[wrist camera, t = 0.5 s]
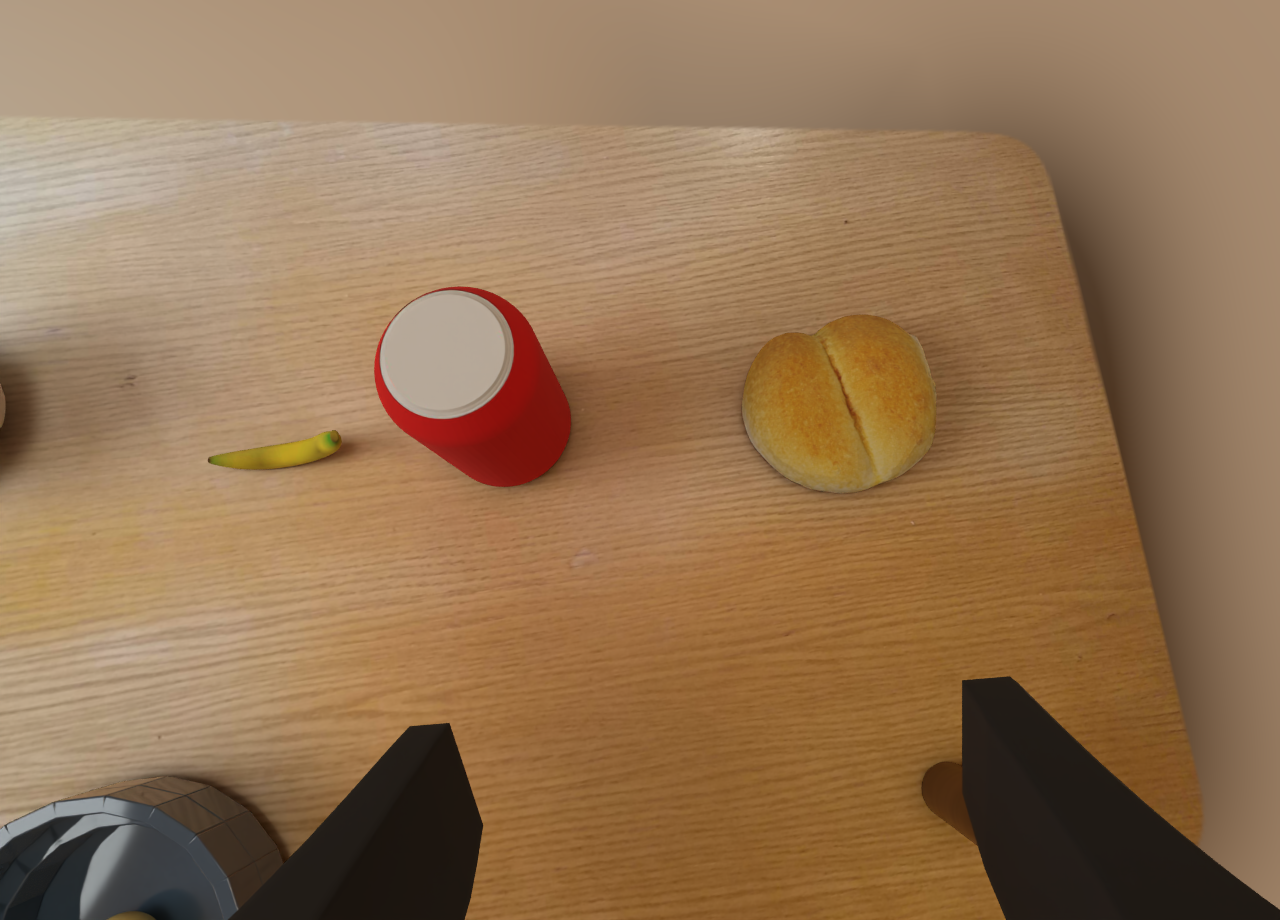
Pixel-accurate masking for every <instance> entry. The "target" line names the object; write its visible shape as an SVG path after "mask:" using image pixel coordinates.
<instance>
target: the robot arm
mask: <svg viewBox="0 0 1280 920" xmlns="http://www.w3.org/2000/svg"><path fill="white" fill-rule="evenodd" d="M962 794H963V797H964V801H965V804H966V808H967V811H968V814H969V818H970V821H971V825H972V828H973V832H974V835H975V838H976V841H977V845H978V848H979V851H980V854H981V858H982V861H983V864H984V867H985V870H986V873H987V875H988V877H989V880H990V882H991V885H992V887H993V890H994V892H995V894H996V897H997V899H998V902H999V904H1000V906H1001V909H1002V911H1003V913H1004V916H1005V918H1006V920H1280V910H1279V909H1278V908H1277V907H1275V906H1274V905H1273V904H1271V903H1270V902H1268V901H1267V900H1266V899H1264V898H1263V897H1261V896H1260V895H1259V894H1258V893H1256V892H1255V891H1254V890H1252V889H1251V888H1250V887H1248V886H1247V885H1246V884H1244V883H1243V882H1241V881H1240V880H1239V879H1238V878H1236V877H1235V876H1234V875H1232V874H1231V873H1230V872H1229V871H1227V870H1226V869H1225V868H1223V867H1222V866H1221V865H1220V864H1218V863H1217V862H1216V861H1214V860H1213V859H1212V858H1211V857H1210V856H1208V855H1207V854H1206V853H1205V852H1203V851H1202V850H1201V849H1200V848H1199V847H1197V846H1196V845H1195V844H1194V843H1192V842H1191V841H1190V840H1189V839H1187V838H1186V837H1185V836H1184V835H1183V834H1181V833H1180V832H1179V831H1178V830H1176V829H1175V828H1174V827H1173V826H1172V825H1170V824H1169V823H1168V822H1167V821H1166V820H1165V819H1163V818H1162V817H1161V816H1160V815H1159V814H1157V813H1156V812H1155V811H1154V810H1153V809H1152V808H1150V807H1149V806H1148V805H1147V804H1146V803H1145V802H1144V801H1142V800H1141V799H1140V798H1139V797H1138V796H1137V795H1136V794H1135V793H1133V792H1132V791H1131V790H1130V789H1129V788H1128V787H1127V786H1126V785H1124V784H1123V783H1122V782H1121V781H1120V780H1119V779H1118V778H1117V777H1115V776H1114V775H1113V774H1112V773H1111V772H1110V771H1109V770H1108V769H1106V768H1105V767H1104V766H1103V765H1102V764H1101V763H1100V762H1099V761H1098V760H1097V759H1096V758H1095V757H1093V756H1092V755H1091V754H1090V753H1089V752H1088V751H1087V750H1086V749H1085V748H1084V747H1083V746H1082V745H1081V744H1080V743H1079V742H1078V741H1076V740H1075V739H1074V738H1073V737H1072V736H1071V735H1070V734H1069V733H1068V732H1067V731H1066V730H1065V729H1064V728H1063V727H1062V726H1061V725H1060V724H1059V723H1058V722H1057V721H1056V720H1055V719H1054V718H1053V717H1052V716H1051V715H1050V714H1049V713H1048V712H1047V711H1046V710H1045V709H1043V708H1042V707H1041V706H1040V705H1039V704H1038V703H1037V702H1036V701H1035V700H1034V699H1033V698H1032V697H1031V696H1030V695H1029V694H1028V693H1027V692H1026V691H1025V690H1024V689H1023V688H1022V687H1021V686H1020V685H1019V684H1018V683H1017V682H1016V681H1015V680H1013V679H1012V678H1011V677H997V678H985V679H973V680H962ZM482 829H483V823H482V820H481V817H480V814H479V811H478V808H477V805H476V802H475V799H474V796H473V793H472V790H471V787H470V784H469V781H468V778H467V775H466V772H465V769H464V766H463V763H462V760H461V757H460V754H459V751H458V748H457V745H456V742H455V739H454V735H453V732H452V729H451V726H450V723H444V724H432V725H420V726H410V727H409V728H408V729H407V730H406V731H405V732H404V733H403V734H402V735H401V736H400V737H399V738H398V739H397V741H396V742H395V743H394V744H393V745H392V746H391V747H390V748H389V749H388V750H387V752H386V753H385V754H384V755H383V756H382V757H381V758H380V759H379V761H378V762H377V763H376V764H375V765H374V766H373V767H372V768H371V770H370V771H369V772H368V773H367V774H366V775H365V776H364V778H363V779H362V780H361V781H360V782H359V783H358V784H357V785H356V787H355V788H354V789H353V790H352V791H351V792H350V793H349V794H348V795H347V797H346V798H345V799H344V800H343V801H342V802H341V803H340V804H339V805H338V806H337V808H336V809H335V810H334V811H333V812H332V813H331V814H330V815H329V816H328V817H327V819H326V820H325V821H324V822H323V823H322V824H321V825H320V826H319V827H318V828H317V829H316V831H315V832H314V833H313V834H312V835H311V836H310V837H309V838H308V839H307V840H306V841H305V843H304V844H303V845H302V846H301V847H300V848H299V849H298V850H297V851H296V852H295V853H294V854H293V855H292V856H291V857H290V858H289V859H288V860H287V861H286V862H285V863H284V864H283V865H282V866H281V867H280V868H279V869H278V870H277V871H276V872H275V873H274V874H273V875H272V876H271V877H270V878H269V879H268V880H267V881H266V882H265V883H264V884H263V885H262V886H261V887H260V888H259V889H258V890H257V891H256V892H255V893H254V894H253V895H252V896H251V897H250V898H249V899H248V900H247V902H246V903H245V904H244V905H243V906H242V907H240V908H239V909H238V910H237V911H236V912H235V913H234V914H233V915H232V916H231V917H230V918H229V919H228V920H465V916H466V913H467V909H468V906H469V902H470V898H471V894H472V888H473V883H474V877H475V872H476V867H477V861H478V854H479V848H480V842H481V835H482Z"/></svg>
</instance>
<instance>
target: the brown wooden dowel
mask: <svg viewBox="0 0 1280 920" xmlns="http://www.w3.org/2000/svg"><path fill="white" fill-rule="evenodd" d="M922 794H923V798H924V801H925V803H926V804H927V806H928V807H929V808H930V810H931V811H932V812H934V813H935V814H936V815H938V816H939V817H940V818H942V819H943V820H944V821H946V822H947V823H948V824H950V825H951V826H952V827H953V828H955V829H956V830H957V831H959V832H960V833H961V834H963V835H964V836H965V837H967V838H968V839H969V840H971V841H972V842H973V843H975V844H976V845H977V841H976V838H975V835H974V832H973V828H972V825H971V821H970V818H969V814H968V811H967V808H966V804H965V801H964V797H963V794H962V766H960V765H959V764H956V763H952V762H942V763H938V764H936V765H934V766H933V767H931V768H930V769H929V770H928V771H927V773H926V774H925V776H924V779H923V782H922ZM977 846H978V845H977Z"/></svg>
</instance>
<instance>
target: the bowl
mask: <svg viewBox="0 0 1280 920" xmlns="http://www.w3.org/2000/svg"><path fill="white" fill-rule="evenodd" d="M277 848H278V847H277V846H276V844H275V843H274V842H273V840H272V839H271V838H270V836H269V835H268V834H267V832H266V831H265V830H264V828H263V827H262V826H261V825H260V823H259V822H258V821H257V819H256V818H255V817H254V815H253V814H252V813H251V812H250V811H249V810H248V809H246V808H245V807H243V806H242V805H240V804H239V803H237V802H236V801H234V800H232V799H231V798H229V797H228V796H226V795H225V794H223V793H222V792H220V791H219V790H217V789H216V788H214V787H211V786H210V785H206V784H201V783H197V782H192V781H188V780H184V779H179V778H175V777H170V776H168V777H167V776H162V777H153V778H145V779H137V780H129V781H122V782H118V783H115V784H112V785H108V786H105V787H101V788H98V789H95V790H91V791H88V792H85V793H82V794H78V795H75V796H72V797H68V798H65V799H61V800H58V801H55V802H52V803H50V804H48V805H46V806H44V807H41V808H39V809H37V810H35V811H33V812H31V813H29V814H26V815H24V816H22V817H20V818H18V819H16V820H14V821H11V822H9V823H8V824H6V825H4V826H3V827H2V828H1V829H0V920H108V919H109V918H111V917H113V916H115V915H117V914H120V913H124V912H129V911H138V912H143V913H146V914H149V915H151V916H152V917H154V918H155V919H156V920H228V919H229V918H230V917H231V916H232V915H233V914H234V913H235V912H236V911H237V910H238V909H239V908H240V907H242V906H243V905H244V904H245V903H246V902H247V900H248V899H249V898H250V897H251V896H252V895H253V894H254V893H255V892H256V891H257V890H258V889H259V888H260V887H261V886H262V885H263V884H264V883H265V882H266V881H267V880H268V879H269V878H270V877H271V876H272V875H273V874H274V873H275V872H276V871H277V870H278V869H279V868H280V867H281V866H282V865H283V861H282V858H281V855H280V852H279V849H277Z"/></svg>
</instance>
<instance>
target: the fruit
mask: <svg viewBox="0 0 1280 920" xmlns="http://www.w3.org/2000/svg"><path fill="white" fill-rule="evenodd" d="M341 443H342V440H341V436H340V435H339V433H338V432H337V431H336V430H332V431H328V432H324V433H321V434H319V435H317V436H315V437H313V438H310V439H306V440H302V441H297V442H292V443H286V444H280V445H273V446H267V447H260V448H254V449H248V450H242V451H236V452H230V453H225V454H220V455H216V456H212V457H209V458H208V462H209V463H211V464H214V465H218V466H223V467H229V468H237V469H275V468H283V467H290V466H295V465H300V464H305V463H309V462H312V461H315V460H319V459H321V458H324V457H327V456H329V455H331V454H333V453H334V452H336V451H337V450H338V449H339V448H340V446H341Z"/></svg>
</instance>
